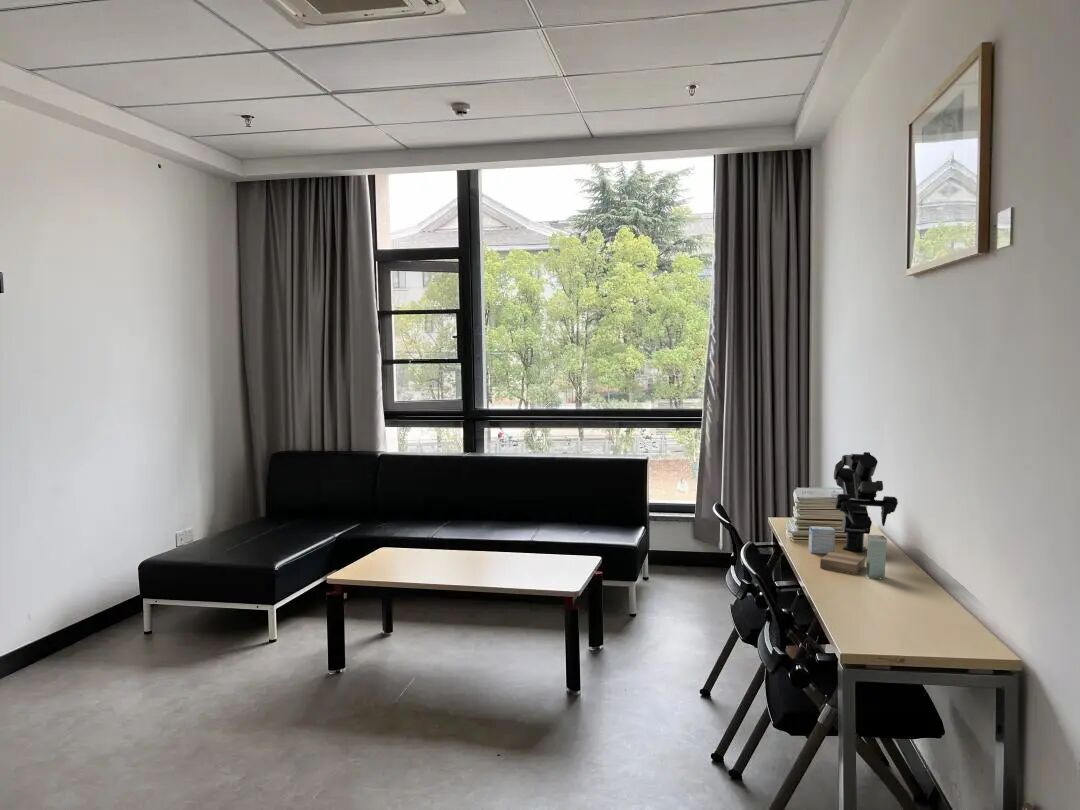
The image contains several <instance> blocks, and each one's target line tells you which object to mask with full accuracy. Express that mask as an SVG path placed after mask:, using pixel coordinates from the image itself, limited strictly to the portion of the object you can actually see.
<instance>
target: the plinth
mask: <svg viewBox="0 0 1080 810" xmlns="http://www.w3.org/2000/svg"><path fill="white" fill-rule="evenodd" d="M819 561H820V564H819V568H820V569H825V570H829V569H830V571H835V570H836V572H840V571H843V572H842V573H845V572H849V573H848V574H851V573H854V574H853V575H857V574H858V573H859V572H860V571H861V570H863V568H865V567H864V566H866V563H865V562H866V557H863V556H859V555H858V556H857V555H851V554H846V553H839V552H835V551H834V552H829V553H828V554H825V555H824V556H823V557H821V558H820V560H819ZM859 570H860V571H859ZM858 571H859V572H858ZM857 572H858V573H857ZM856 573H857V574H856Z"/></svg>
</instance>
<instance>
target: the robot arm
mask: <svg viewBox="0 0 1080 810" xmlns="http://www.w3.org/2000/svg"><path fill="white" fill-rule="evenodd" d="M877 465H878V459H877V458H876V457H875V456H874V455H872V454H871V451H868V452H867V451H864V452H863V453H861V454H860V453H851V454H843V455H842V456H841V459H840V460H839V462H837V463H836V464H835V466H834V471H833V479H834V480H835V483H836V485H837V486H838V487H839V488H841V489H842V493H838V494H837V495H836V498H835V503H834V504H835V505H834V506H835V509H836V510H839V511H840V512H843V514H844V516H843V519H842V521H841V531H842V532H843V533H844V534H846V537H845V539H846V540H845V546H843V547H842V549H843V550H848V551H853V552H859V553H862V552H863V551H865V550H866V549H867V547H866V546H864V539H865V535H866V534H867V535H870V534H871V527H872V523H873V520H871V519H872V518H871V516H869V512H868V508H867V507H880V508H881V511H880V517H881V518H880V519H881V524H882V527H885V525H886V522H887V521H886V519H887V517H888V515H891V514H892V513H894V512H895V511H896V508H897V506H898V504H899V503H898V502H899V501H898V498H897V497H896V496H887V495H885V496H883V497H882V500H881V499H880V500H879V499H875V498H877V495H878V494H877V493H878V492H882V491H883V490H884V483H883V481H882V480H876V481H873V478H872V477H873V476H874V474H875V472H876V469H877ZM845 466H847V467H845Z"/></svg>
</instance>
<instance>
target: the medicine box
mask: <svg viewBox="0 0 1080 810" xmlns="http://www.w3.org/2000/svg"><path fill="white" fill-rule="evenodd" d="M835 543H836V529H834V528H833V527H832V526H814V525H813V526H811V525H810V526H809V529H808V547H807V548H808V551H809V552H810V553H811V554H821V555H822V554H825V555H827V554H828V553H829V552H835V546H836V544H835Z"/></svg>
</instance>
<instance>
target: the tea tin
mask: <svg viewBox="0 0 1080 810" xmlns="http://www.w3.org/2000/svg"><path fill="white" fill-rule="evenodd" d="M887 542H888V539H887V538H886V537H885V536H884V535H882V534H881V535H880V534H879V535H877V534H867V547H866V549H867V551H866V563H865V566H866V567H865V575H866V574H867V575H866V576H867V578H868V577H869V578H868V579H871V578H881V579H880V580H885V579H886V577H885V576H886V561H887V559H886V558H887Z"/></svg>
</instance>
